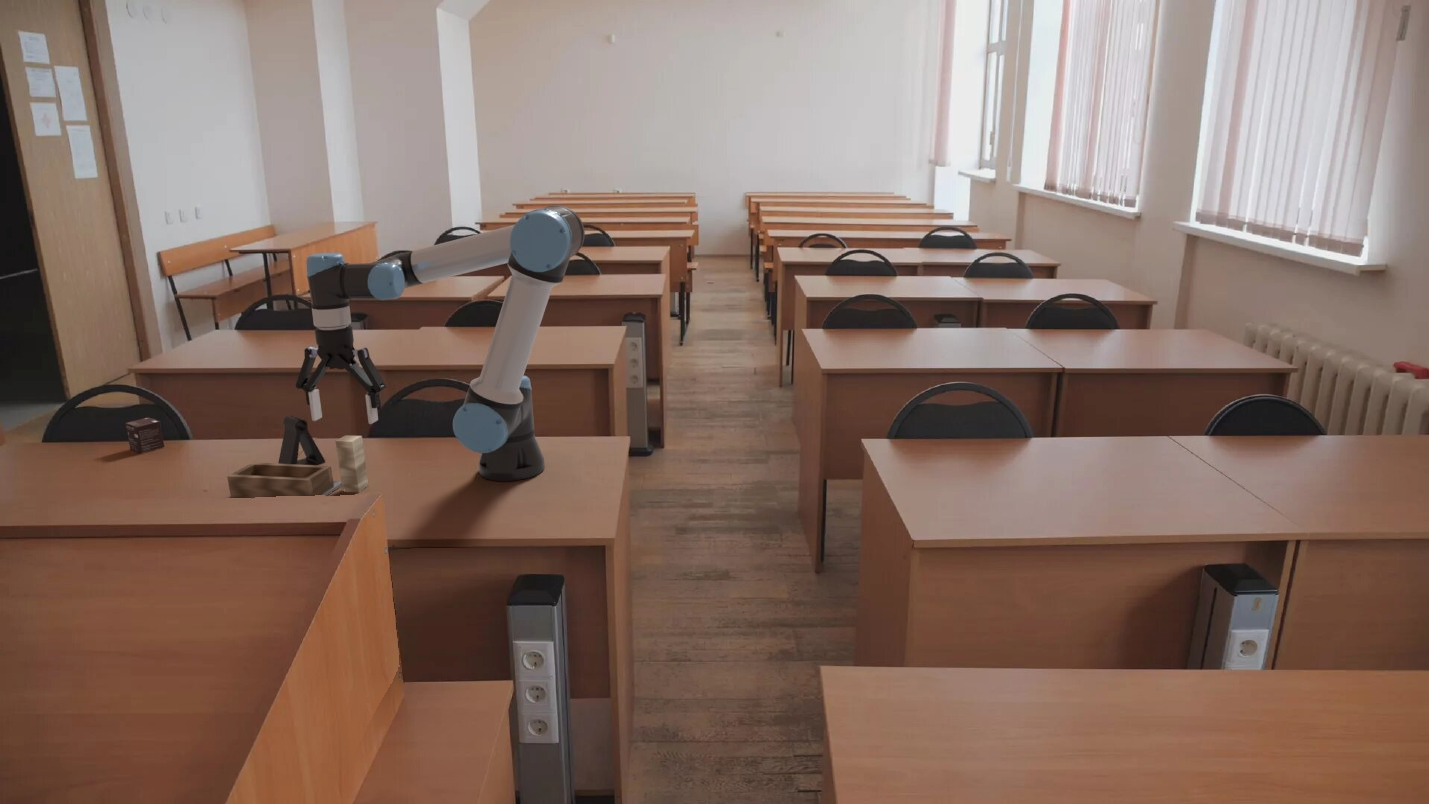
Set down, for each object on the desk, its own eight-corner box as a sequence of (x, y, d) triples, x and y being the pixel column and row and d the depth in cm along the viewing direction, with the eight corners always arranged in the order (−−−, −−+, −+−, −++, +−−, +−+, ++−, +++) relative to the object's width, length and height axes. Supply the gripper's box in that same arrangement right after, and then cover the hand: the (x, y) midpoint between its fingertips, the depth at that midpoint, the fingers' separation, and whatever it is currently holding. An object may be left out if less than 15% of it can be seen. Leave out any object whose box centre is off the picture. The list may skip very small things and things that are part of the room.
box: (129, 450, 242) (124, 422, 240) (154, 443, 247) (149, 416, 245) (141, 454, 239) (135, 426, 237) (165, 447, 243) (160, 420, 241)
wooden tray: (344, 484, 215) (341, 460, 213) (302, 512, 200) (298, 486, 198) (265, 480, 218) (262, 457, 217) (219, 507, 203) (214, 482, 202)
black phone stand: (289, 472, 223) (281, 424, 220) (277, 467, 227) (270, 419, 224) (325, 462, 230) (318, 415, 226) (313, 457, 234) (307, 411, 230)
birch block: (368, 486, 214) (361, 436, 210) (359, 492, 210) (352, 441, 207) (352, 485, 214) (345, 435, 211) (342, 491, 211) (335, 441, 207)
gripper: (395, 324, 203) (405, 417, 209) (291, 321, 207) (304, 412, 213) (377, 331, 196) (388, 428, 202) (269, 328, 200) (283, 422, 206)
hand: (345, 420), depth 208 cm, fingers open, 13 cm apart
